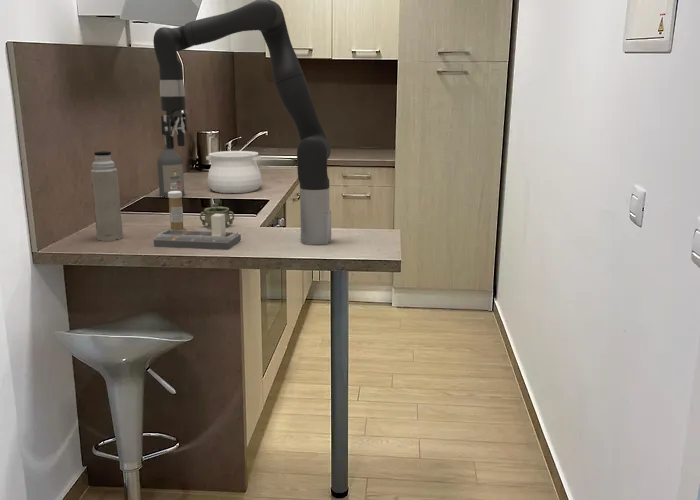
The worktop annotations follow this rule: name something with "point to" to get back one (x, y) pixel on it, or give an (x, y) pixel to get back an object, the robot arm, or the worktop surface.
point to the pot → (234, 171)
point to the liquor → (170, 171)
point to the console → (196, 239)
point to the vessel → (216, 210)
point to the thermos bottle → (106, 197)
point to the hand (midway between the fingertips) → (176, 147)
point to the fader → (218, 225)
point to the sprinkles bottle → (175, 210)
